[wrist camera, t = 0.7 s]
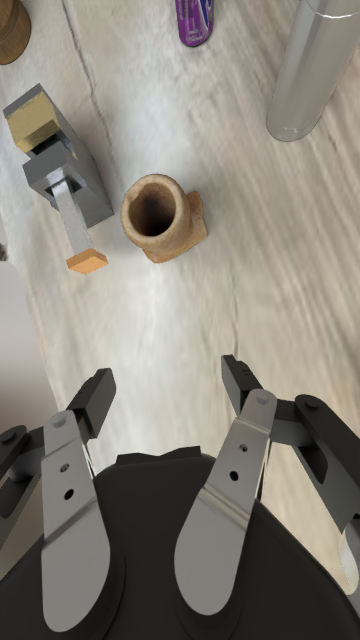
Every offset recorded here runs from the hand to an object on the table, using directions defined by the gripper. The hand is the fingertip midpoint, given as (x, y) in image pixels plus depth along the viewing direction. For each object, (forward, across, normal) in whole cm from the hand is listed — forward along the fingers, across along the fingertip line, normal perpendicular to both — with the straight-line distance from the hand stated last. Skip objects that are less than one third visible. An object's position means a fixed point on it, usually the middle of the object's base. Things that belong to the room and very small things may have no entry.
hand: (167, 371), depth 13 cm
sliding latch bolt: (+27, +15, -15) cm, 34 cm away
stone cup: (+31, -3, -11) cm, 33 cm away
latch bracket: (+40, +17, -24) cm, 49 cm away
